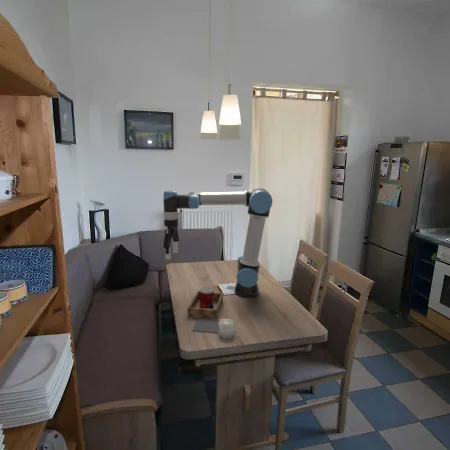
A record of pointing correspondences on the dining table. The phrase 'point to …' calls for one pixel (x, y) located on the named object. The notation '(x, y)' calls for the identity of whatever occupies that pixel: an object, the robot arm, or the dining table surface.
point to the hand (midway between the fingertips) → (171, 255)
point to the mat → (207, 325)
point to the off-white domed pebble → (226, 328)
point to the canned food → (206, 298)
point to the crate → (204, 312)
